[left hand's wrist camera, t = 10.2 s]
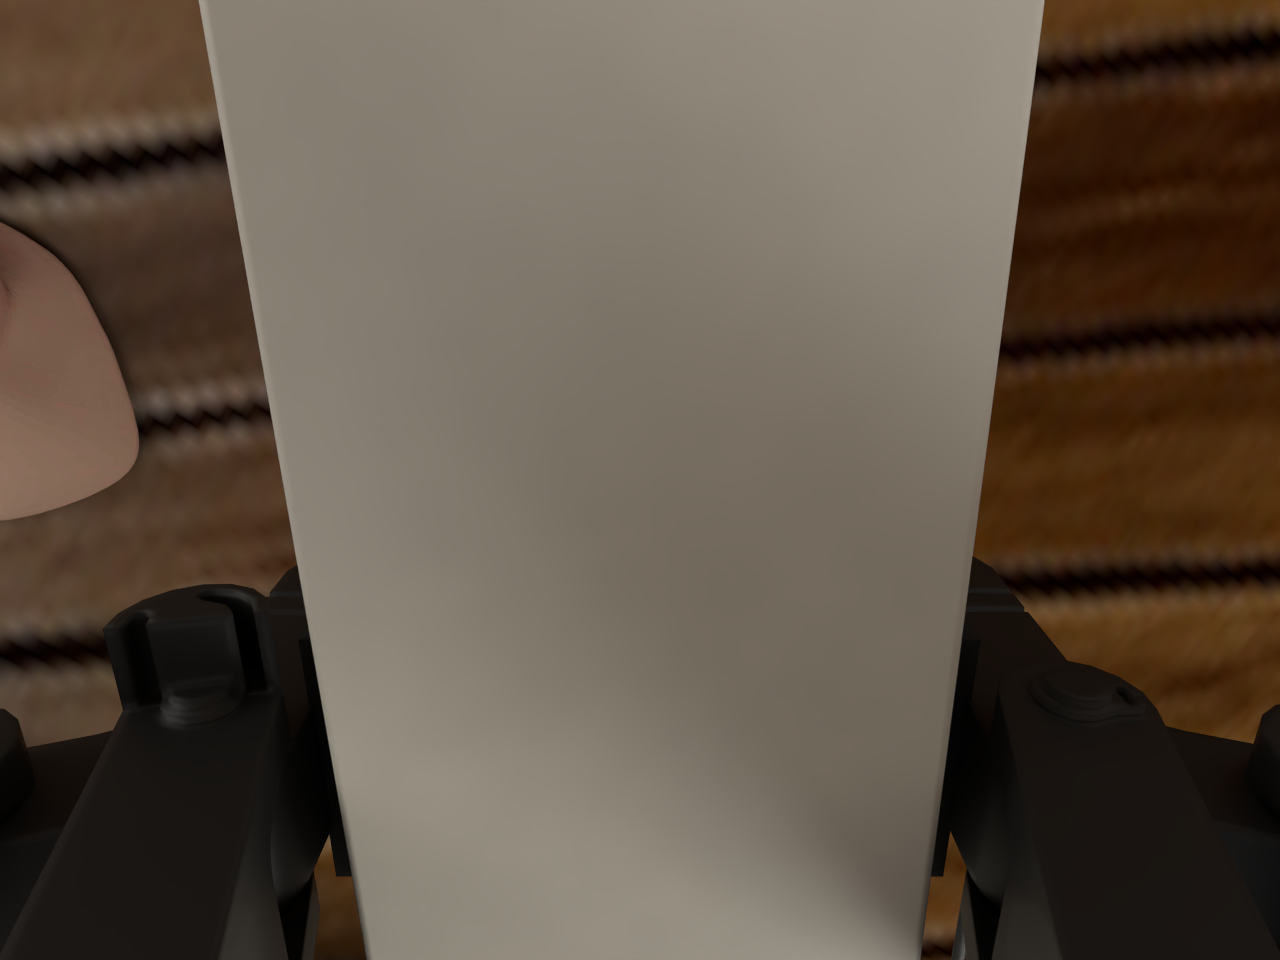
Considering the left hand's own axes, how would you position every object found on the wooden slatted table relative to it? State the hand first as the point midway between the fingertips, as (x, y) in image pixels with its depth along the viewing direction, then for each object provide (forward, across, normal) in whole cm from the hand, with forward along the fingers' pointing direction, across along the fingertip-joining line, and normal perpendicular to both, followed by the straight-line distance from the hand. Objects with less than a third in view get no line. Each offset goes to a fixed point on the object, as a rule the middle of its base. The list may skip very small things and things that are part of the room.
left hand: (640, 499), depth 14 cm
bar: (+1, 0, -25) cm, 25 cm away
